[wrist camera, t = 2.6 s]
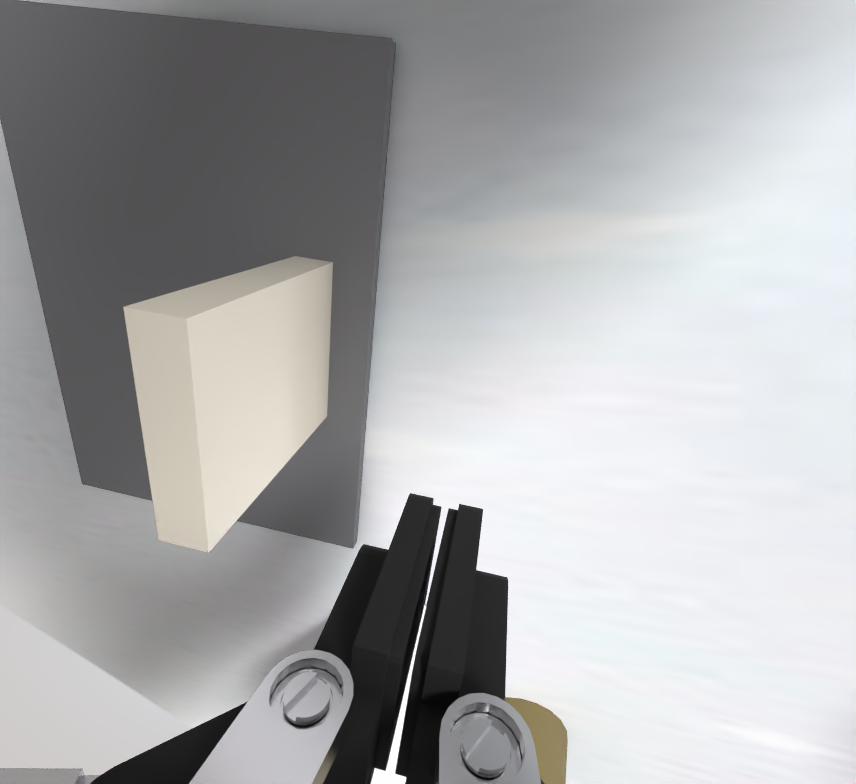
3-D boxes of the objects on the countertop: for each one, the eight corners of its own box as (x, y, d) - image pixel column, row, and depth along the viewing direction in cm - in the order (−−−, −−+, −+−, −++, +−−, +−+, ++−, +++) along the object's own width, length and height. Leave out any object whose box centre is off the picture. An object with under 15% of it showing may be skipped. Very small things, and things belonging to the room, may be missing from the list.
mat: (-11, 1, 18) (-27, -4, 17) (395, 43, 16) (390, 38, 15) (91, 477, 27) (82, 483, 26) (356, 540, 25) (352, 548, 25)
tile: (291, 255, 19) (117, 305, 11) (333, 262, 19) (186, 318, 11) (291, 409, 22) (153, 539, 14) (327, 416, 22) (208, 552, 14)
